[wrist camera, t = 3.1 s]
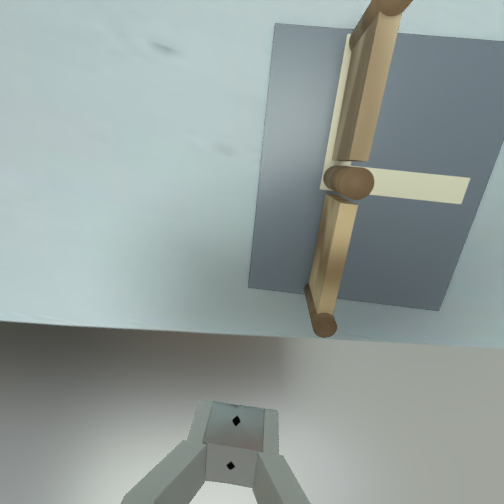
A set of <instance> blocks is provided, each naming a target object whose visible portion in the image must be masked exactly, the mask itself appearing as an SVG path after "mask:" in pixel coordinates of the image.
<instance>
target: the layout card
mask: <svg viewBox="0 0 504 504" xmlns="http://www.w3.org/2000/svg"><path fill="white" fill-rule="evenodd" d="M353 31H354V29H342V28H329V27H317V26H304V25H292V24H279V23H275V29H274V39H273V49H272V59H271V69H270V78H269V88H268V98H267V108H266V118H265V127H264V137H263V147H262V157H261V166H260V176H259V186H258V196H257V206H256V215H255V225H254V235H253V245H252V255H251V264H250V274H249V284H248V288H257V289H265V290H273V291H281V292H289V293H297V294H305V292H304V288H305V286H306V284H308V283H309V280H310V274H311V269H312V263H313V258H314V253H315V247H316V242H317V236H318V231H319V226H320V220H321V215H322V210H323V204H324V199H325V194H333V195H340V196H342V197H344V198H346V199H347V200H349V201H351V202H353V203H355V204H357V205H358V208H357V212H356V216H355V221H354V225H353V230H352V234H351V238H350V243H349V247H348V251H347V256H346V260H345V264H344V269H343V273H342V278H341V282H340V286H339V291H338V295H337V299H345V300H354V301H362V302H370V303H378V304H386V305H394V306H402V307H410V308H418V309H426V310H434V311H439V309H440V307H441V304H442V302H443V299H444V296H445V294H446V291H447V288H448V286H449V283H450V280H451V278H452V275H453V273H454V270H455V267H456V265H457V262H458V259H459V257H460V254H461V251H462V249H463V246H464V244H465V241H466V238H467V236H468V233H469V230H470V228H471V225H472V223H473V220H474V217H475V215H476V212H477V209H478V207H479V204H480V201H481V199H482V196H483V194H484V191H485V188H486V186H487V183H488V180H489V178H490V175H491V173H492V170H493V167H494V165H495V162H496V159H497V157H498V154H499V151H500V149H501V146H502V144H503V141H504V41H492V40H480V39H467V38H455V37H442V36H429V35H417V34H404V33H397V37H396V42H395V46H394V50H393V55H392V59H391V63H390V68H389V72H388V77H387V81H386V85H385V90H384V94H383V98H382V103H381V107H380V112H379V116H378V120H377V125H376V129H375V133H374V138H373V142H372V146H371V151H370V155H369V160H368V161H337V160H332V156H333V150H334V145H335V139H336V134H337V129H338V123H339V118H340V112H341V107H342V102H343V96H344V91H345V85H346V80H347V75H348V69H349V64H350V59H351V53H352V51H351V50H350V47H349V39H350V36H351V34H352V32H353ZM331 166H350V167H363V168H366V169H368V170H369V171H370V172H371V173H372V174H373V177H374V187H373V190H372V191H371V193H370V194H369V195H368V196H367V197H365V198H363V199H360V200H352V199H349V198H347V197H345V196H343V195H341V194H339V193H337V192H335V191H333V190H331V189H329V188H327V187H326V186H325V184H324V182H323V176H324V173H325V171H326V170H327V169H328V168H329V167H331Z"/></svg>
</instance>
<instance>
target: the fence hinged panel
mask: <svg viewBox="0 0 504 504" xmlns="http://www.w3.org/2000/svg"><path fill="white" fill-rule="evenodd" d="M357 208H358V205H357V204H355V203H353V202H351V201H349V200H347V199H346V198H344V197H342V196H340V195H333V194H325V199H324V204H323V210H322V215H321V220H320V226H319V231H318V236H317V242H316V247H315V253H314V258H313V263H312V269H311V274H310V280H309V283H308V284H306V286H305V288H304V292H305V296H306V300H307V305H308V309H309V313H310V318H311V322H312V326H313V330H314V333H315V334H316V335H317V336H319V337H323V338H326V337H330V336H332V335H333V334H334V333H335V332H336V330H337V324H336V322H335V319H334V316H333V313H334V308H335V304H336V299H337V295H338V291H339V286H340V282H341V278H342V273H343V269H344V264H345V260H346V256H347V251H348V247H349V243H350V238H351V234H352V230H353V225H354V221H355V216H356V212H357Z"/></svg>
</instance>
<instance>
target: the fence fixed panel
mask: <svg viewBox="0 0 504 504" xmlns="http://www.w3.org/2000/svg"><path fill="white" fill-rule="evenodd" d="M412 1H413V0H372V1H371V3H370V4H369V6H368V8H367V9H366V11H365V13H364V14H363V16H362V18H361V19H360V21H359V22H358V24H357V26H356V27H355V29H354V31H353V32H352V34H351V36H350V39H349V47H350V50H351V51H352V53H351V59H350V64H349V69H348V75H347V80H346V85H345V91H344V96H343V102H342V107H341V112H340V118H339V123H338V129H337V134H336V139H335V145H334V150H333V156H332V160H337V161H368V160H369V155H370V151H371V146H372V142H373V138H374V133H375V129H376V125H377V120H378V116H379V112H380V107H381V103H382V98H383V94H384V90H385V85H386V81H387V77H388V72H389V68H390V63H391V59H392V55H393V50H394V46H395V42H396V37H397V33H398V29H399V24H400V20H401V15H402V12H403V11H404V10H405V9H406V8H407V7H408V5H409V4H410V3H411V2H412ZM323 182H324V184H325V186H326V187H327V188H329V189H331V190H333V191H335V192H337V193H339V194H341V195H343V196H345V197H347V198H349V199H352V200H360V199H363V198H365V197H367V196H368V195H369V194H370V193H371V191H372V190H373V187H374V177H373V174H372V173H371V172H370V171H369V170H368V169H366V168H363V167H350V166H331V167H329V168H328V169H327V170H326V171H325V173H324V176H323Z"/></svg>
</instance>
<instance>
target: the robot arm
mask: <svg viewBox="0 0 504 504" xmlns="http://www.w3.org/2000/svg"><path fill="white" fill-rule="evenodd" d="M205 481H212V482H221V483H229V484H235V485H239V486H244V487H250V488H253V492H254V495H255V498H256V500H257V503H258V504H310V502H309V500H308V498H307V497H306V495H305V493H304V492H303V490H302V488H301V486H300V485H299V483H298V481H297V479H296V478H295V476H294V474H293V472H292V471H291V469H290V467H289V465H288V463H287V462H286V460H285V458H284V457H283V456H282V455H279V435H278V412H277V410H271V409H264V408H258V407H251V406H244V405H234V404H228V403H222V402H216V401H210V400H204V399H201V400H200V402H199V404H198V407H197V411H196V413H195V417H194V420H193V423H192V426H191V430H190V433H189V436H188V439H187V441H185V440H183V441H182V442H181V443H180V444H179V445H178V446H176V447H175V448H174V449H173V450H172V451H171V452H170V453H169V454H168V455H167V456H166V457H165V458H164V459H163V460H162V461H161V462H160V463H159V464H157V465H156V466H155V467H154V468H153V469H152V470H151V471H150V472H149V473H148V474H147V475H146V476H145V477H144V478H143V479H142V480H141V481H140V482H139V483H138V484H137V485H135V486H134V487H133V488H132V489H131V490H130V491H129V492H128V493H127V494H126V495H125V496H124V498H123V500H122V502H121V504H189V503H190V501H191V500H192V499H193V497H194V496H195V495H196V493H197V492H198V490H199V489H200V488H201V486H202V485H203V484H204V482H205Z"/></svg>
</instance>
